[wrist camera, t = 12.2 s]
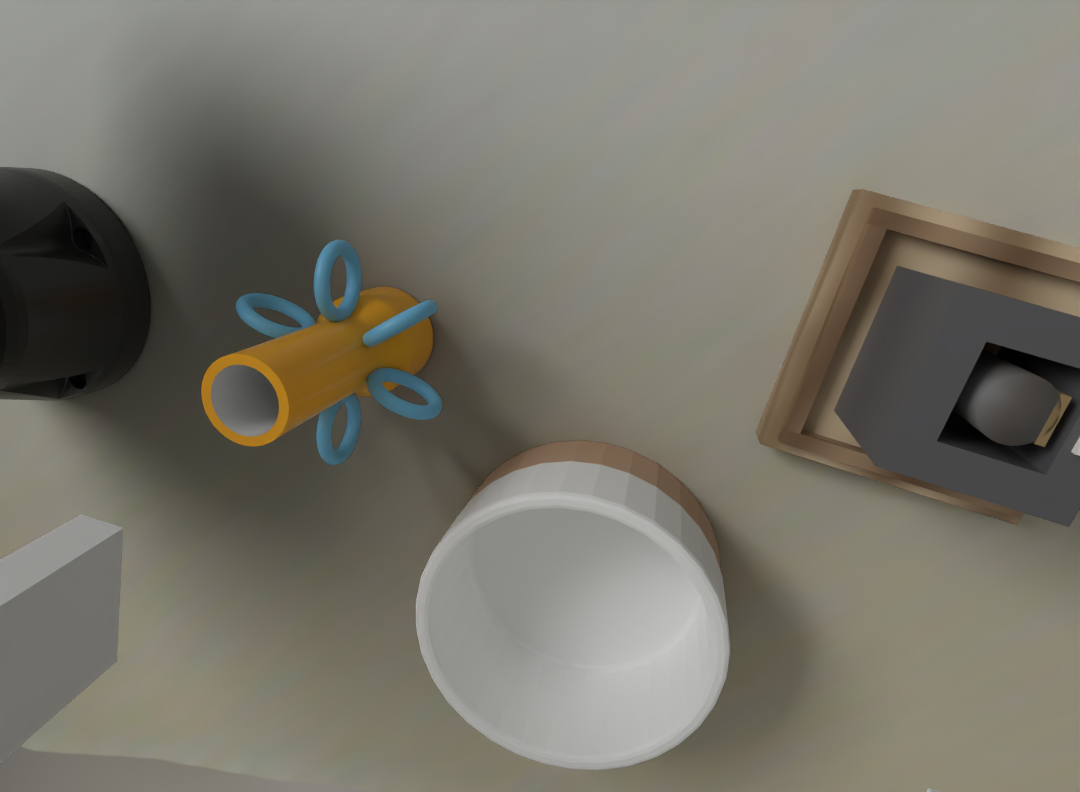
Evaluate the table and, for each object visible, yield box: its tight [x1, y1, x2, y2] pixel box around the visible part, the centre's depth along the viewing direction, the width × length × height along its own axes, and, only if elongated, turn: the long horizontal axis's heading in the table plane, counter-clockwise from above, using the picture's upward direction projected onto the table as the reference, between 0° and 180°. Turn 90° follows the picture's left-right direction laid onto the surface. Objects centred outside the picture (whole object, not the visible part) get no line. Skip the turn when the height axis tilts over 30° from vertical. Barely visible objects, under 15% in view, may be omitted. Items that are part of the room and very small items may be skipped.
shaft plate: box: [756, 189, 1080, 525], centre depth 32 cm, size 14×14×10 cm
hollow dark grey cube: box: [834, 266, 1080, 527], centre depth 30 cm, size 8×8×8 cm
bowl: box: [416, 440, 731, 770], centre depth 40 cm, size 17×17×8 cm
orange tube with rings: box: [201, 240, 442, 465], centre depth 35 cm, size 12×10×15 cm
